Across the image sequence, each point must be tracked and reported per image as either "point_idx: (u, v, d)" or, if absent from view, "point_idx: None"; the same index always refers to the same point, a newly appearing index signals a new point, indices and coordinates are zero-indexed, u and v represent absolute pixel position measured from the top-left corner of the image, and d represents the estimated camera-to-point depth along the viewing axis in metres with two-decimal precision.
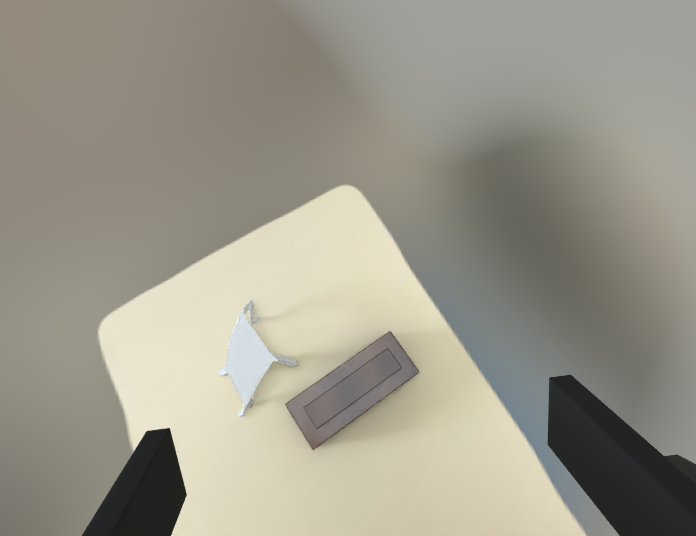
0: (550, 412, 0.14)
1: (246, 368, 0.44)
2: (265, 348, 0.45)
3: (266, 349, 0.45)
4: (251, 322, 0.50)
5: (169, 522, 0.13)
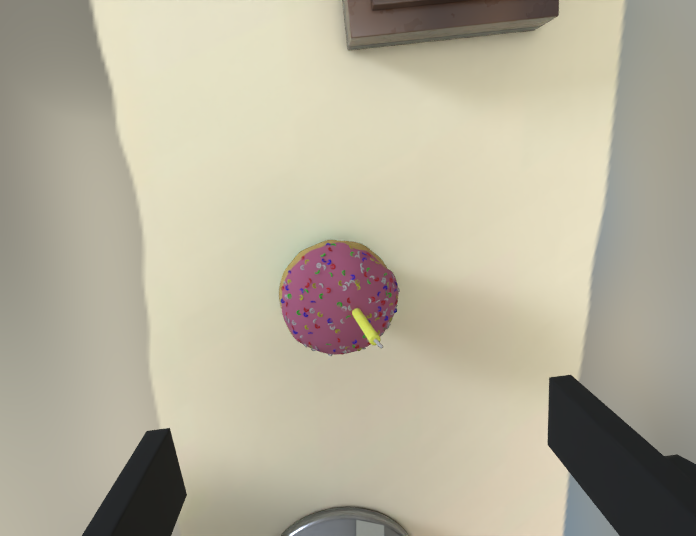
0: (550, 412, 0.14)
1: None
2: None
3: None
4: None
5: (169, 522, 0.13)
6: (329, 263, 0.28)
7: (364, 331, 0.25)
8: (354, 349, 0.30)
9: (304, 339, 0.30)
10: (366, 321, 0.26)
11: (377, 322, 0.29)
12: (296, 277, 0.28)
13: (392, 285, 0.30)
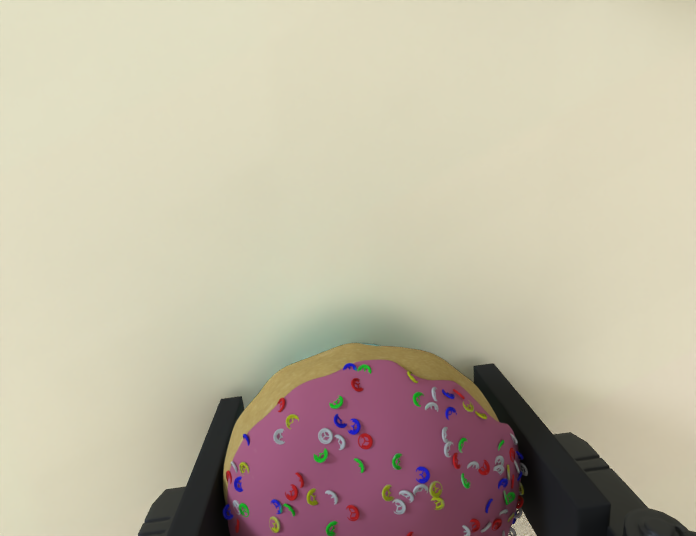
0: None
1: None
2: None
3: None
4: None
5: None
6: (356, 431, 0.10)
7: None
8: None
9: None
10: None
11: None
12: (262, 464, 0.10)
13: (514, 466, 0.11)
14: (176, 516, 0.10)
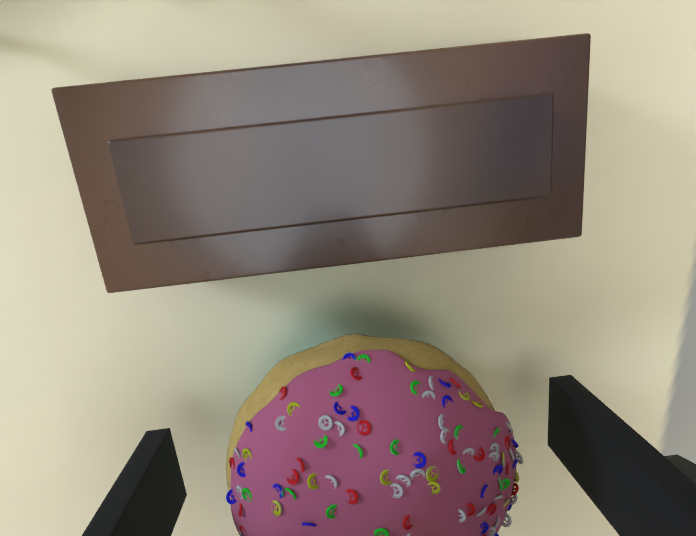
0: (550, 412, 0.14)
1: None
2: None
3: None
4: None
5: (169, 522, 0.13)
6: (355, 418, 0.10)
7: None
8: None
9: None
10: None
11: None
12: (265, 450, 0.11)
13: (509, 454, 0.12)
14: None
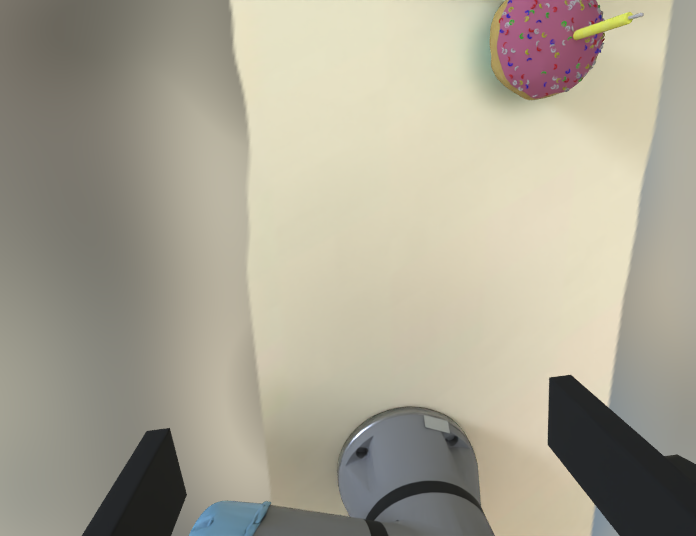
0: (550, 412, 0.14)
1: None
2: None
3: None
4: None
5: (169, 522, 0.13)
6: None
7: (610, 21, 0.27)
8: (562, 85, 0.32)
9: (518, 72, 0.31)
10: (604, 20, 0.28)
11: (590, 51, 0.31)
12: (520, 3, 0.30)
13: (602, 20, 0.31)
14: None
